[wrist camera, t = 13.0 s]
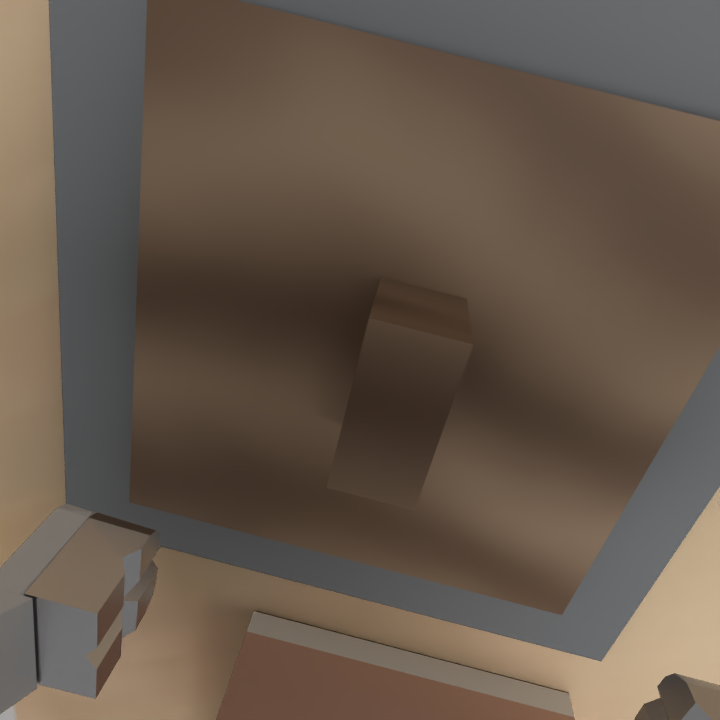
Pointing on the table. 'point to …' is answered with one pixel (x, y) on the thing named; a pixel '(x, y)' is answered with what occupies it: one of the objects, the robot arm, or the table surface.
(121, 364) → the rubber mat
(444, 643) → the table surface
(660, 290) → the walnut lid
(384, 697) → the salmon open box
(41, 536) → the robot arm
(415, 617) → the table surface
